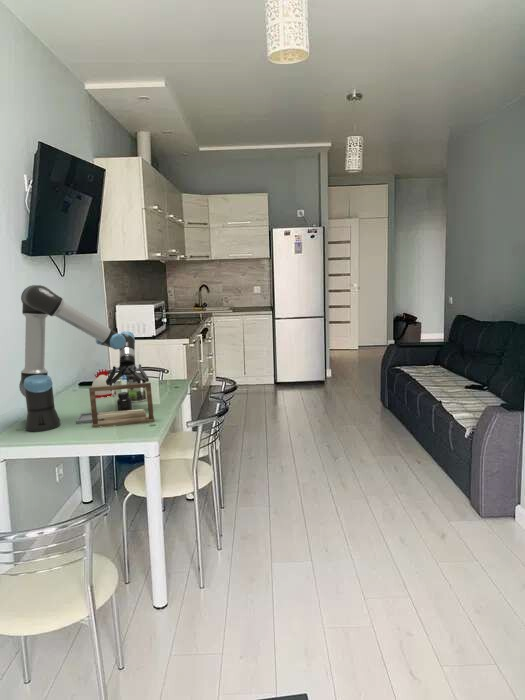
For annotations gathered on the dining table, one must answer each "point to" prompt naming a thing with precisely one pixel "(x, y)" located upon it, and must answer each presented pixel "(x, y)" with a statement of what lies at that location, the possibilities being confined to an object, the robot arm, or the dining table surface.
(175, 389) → the dining table surface
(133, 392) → the coffee can
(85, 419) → the grey tray
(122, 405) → the supplement bottle
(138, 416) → the offcut stack
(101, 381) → the kitchen timer
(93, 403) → the walnut rack
